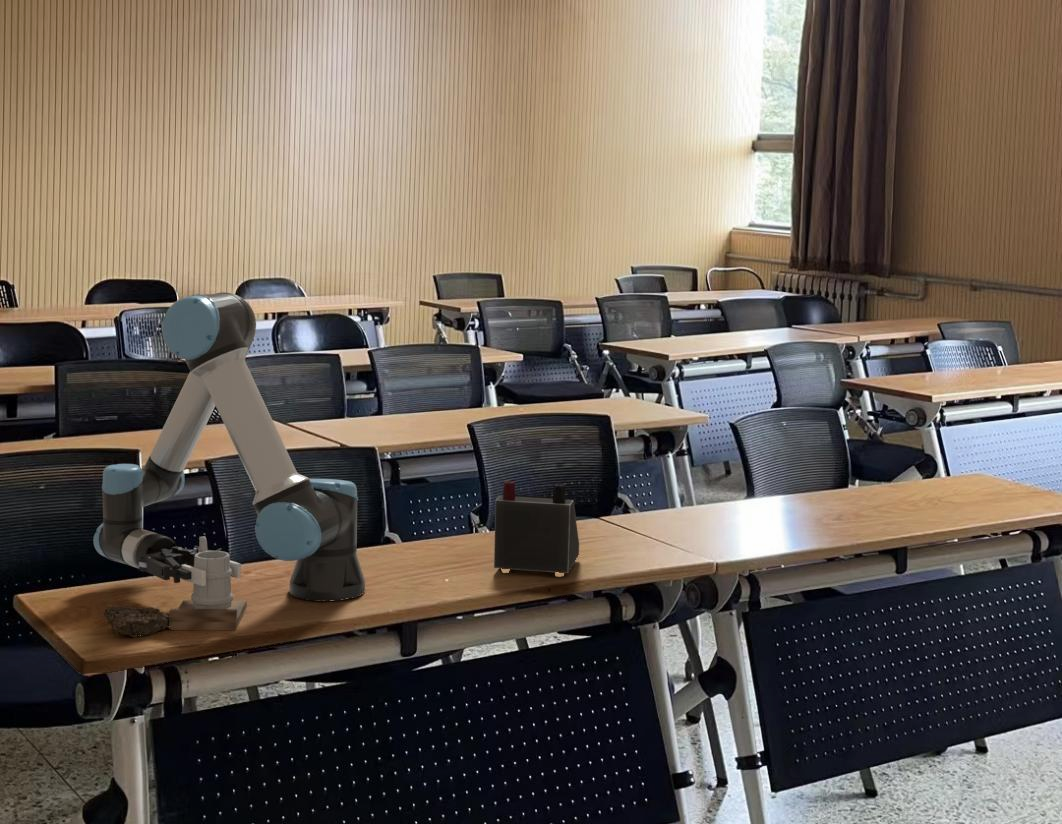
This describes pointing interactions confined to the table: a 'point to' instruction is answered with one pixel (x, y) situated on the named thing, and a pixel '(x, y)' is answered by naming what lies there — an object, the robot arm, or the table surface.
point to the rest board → (206, 617)
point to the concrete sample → (135, 620)
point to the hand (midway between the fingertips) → (221, 574)
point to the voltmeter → (535, 531)
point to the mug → (212, 579)
